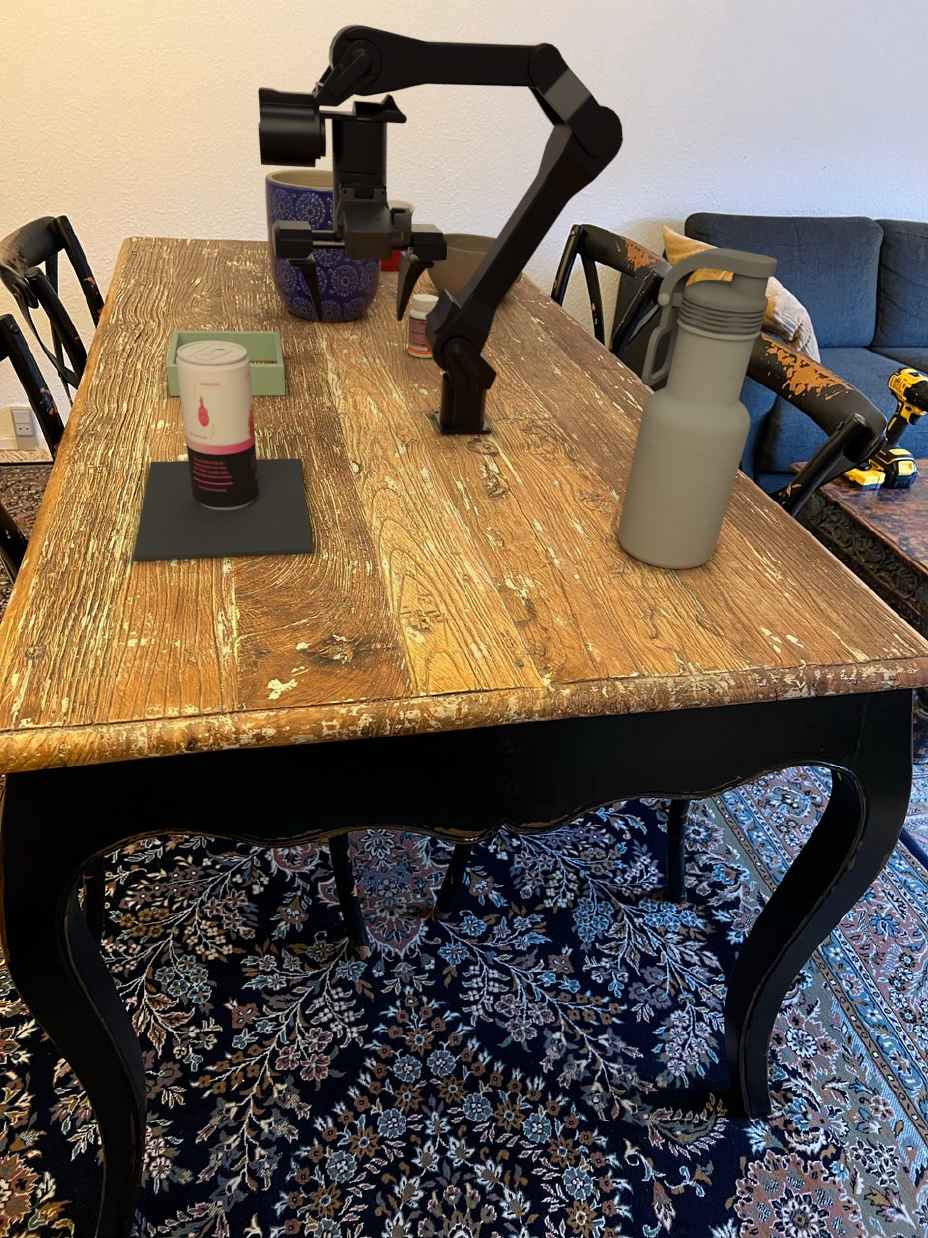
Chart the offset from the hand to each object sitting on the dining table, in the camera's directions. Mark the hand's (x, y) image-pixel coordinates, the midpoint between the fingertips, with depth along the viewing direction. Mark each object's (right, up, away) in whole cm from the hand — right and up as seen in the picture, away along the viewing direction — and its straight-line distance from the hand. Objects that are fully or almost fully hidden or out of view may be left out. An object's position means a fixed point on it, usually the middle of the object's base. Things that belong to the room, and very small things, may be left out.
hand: (360, 320), depth 97 cm
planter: (-11, +17, +46) cm, 50 cm away
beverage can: (-12, -22, -11) cm, 28 cm away
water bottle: (+32, -28, -12) cm, 44 cm away
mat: (-12, -23, -12) cm, 29 cm away
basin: (-20, -1, +18) cm, 27 cm away
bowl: (+14, +26, +61) cm, 67 cm away
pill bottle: (+6, +6, +32) cm, 33 cm away
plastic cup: (-4, +37, +75) cm, 84 cm away
